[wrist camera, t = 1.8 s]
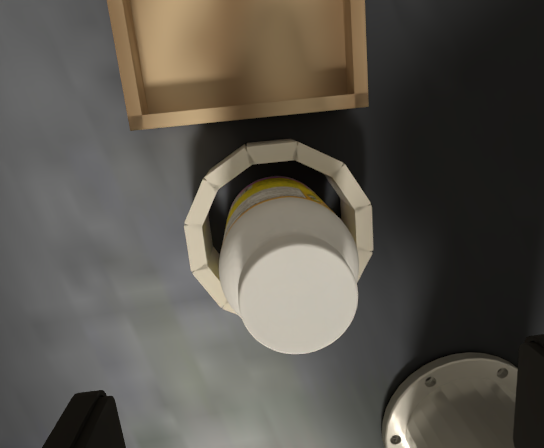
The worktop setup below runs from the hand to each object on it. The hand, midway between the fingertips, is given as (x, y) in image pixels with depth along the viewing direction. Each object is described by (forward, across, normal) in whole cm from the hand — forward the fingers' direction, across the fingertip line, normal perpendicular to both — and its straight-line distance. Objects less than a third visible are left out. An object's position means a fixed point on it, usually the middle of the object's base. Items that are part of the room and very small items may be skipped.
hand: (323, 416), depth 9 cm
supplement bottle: (+20, 0, 0) cm, 20 cm away
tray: (+20, +1, -12) cm, 23 cm away
